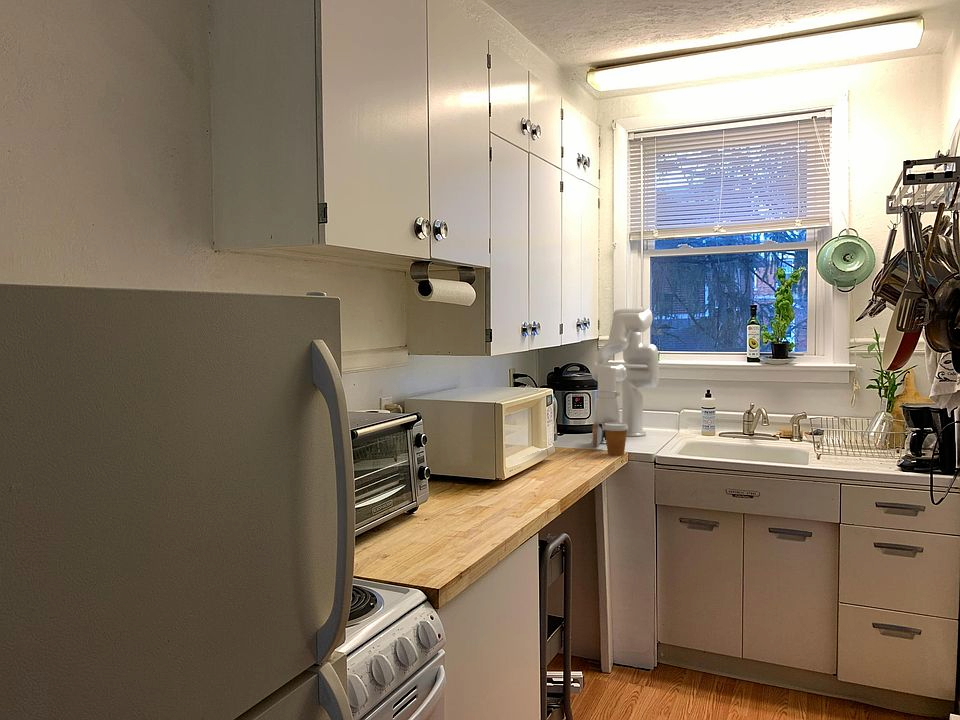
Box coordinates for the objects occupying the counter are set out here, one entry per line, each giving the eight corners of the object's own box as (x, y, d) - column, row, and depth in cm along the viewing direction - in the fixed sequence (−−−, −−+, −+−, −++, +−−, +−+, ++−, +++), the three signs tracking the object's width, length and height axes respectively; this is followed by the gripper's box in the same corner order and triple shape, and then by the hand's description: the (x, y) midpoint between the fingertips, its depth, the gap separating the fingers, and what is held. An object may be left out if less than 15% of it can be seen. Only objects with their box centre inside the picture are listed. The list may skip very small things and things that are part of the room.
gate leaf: (597, 440, 316) (597, 420, 316) (602, 441, 316) (602, 420, 315) (592, 447, 300) (592, 425, 300) (597, 447, 300) (597, 425, 299)
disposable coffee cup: (616, 457, 284) (616, 426, 283) (598, 454, 291) (598, 423, 291) (633, 454, 289) (633, 424, 289) (615, 451, 297) (615, 422, 297)
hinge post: (588, 442, 319) (589, 417, 318) (601, 441, 322) (601, 416, 322) (599, 445, 313) (599, 419, 312) (611, 443, 316) (612, 418, 316)
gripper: (625, 394, 304) (624, 438, 305) (588, 394, 307) (588, 437, 308) (626, 396, 297) (625, 441, 298) (588, 396, 299) (588, 440, 300)
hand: (606, 439), depth 303 cm, fingers closed
